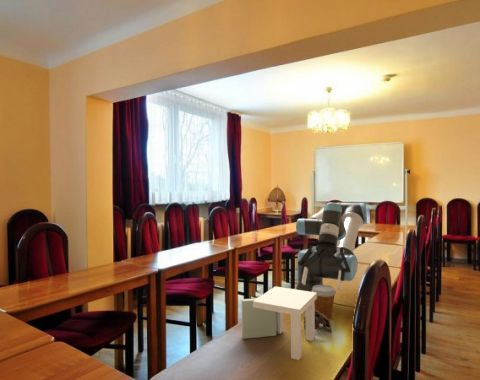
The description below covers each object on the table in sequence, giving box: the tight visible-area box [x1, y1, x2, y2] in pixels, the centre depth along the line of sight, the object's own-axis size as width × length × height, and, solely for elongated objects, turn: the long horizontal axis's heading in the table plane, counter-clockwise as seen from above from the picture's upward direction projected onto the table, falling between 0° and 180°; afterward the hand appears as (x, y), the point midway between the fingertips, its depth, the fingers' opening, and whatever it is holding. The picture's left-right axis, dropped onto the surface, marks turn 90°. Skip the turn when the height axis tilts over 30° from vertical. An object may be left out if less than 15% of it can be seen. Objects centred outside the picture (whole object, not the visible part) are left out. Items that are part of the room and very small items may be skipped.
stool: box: [253, 286, 317, 361], centre depth 110 cm, size 18×16×16 cm
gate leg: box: [241, 297, 279, 340], centre depth 116 cm, size 13×2×13 cm, turn 100°
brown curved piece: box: [303, 308, 333, 333], centre depth 121 cm, size 12×10×8 cm
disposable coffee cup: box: [312, 284, 336, 321], centre depth 132 cm, size 10×10×12 cm
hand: (320, 286), depth 124 cm, fingers open, 13 cm apart
